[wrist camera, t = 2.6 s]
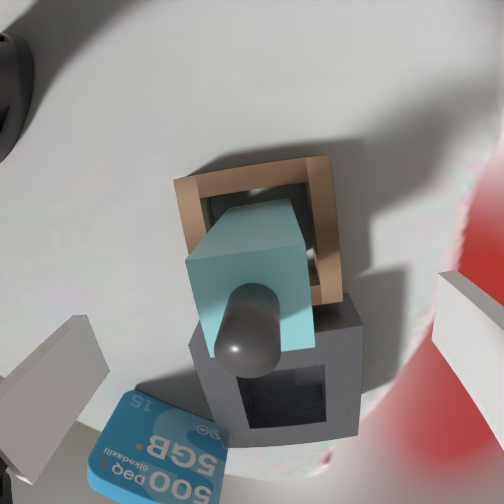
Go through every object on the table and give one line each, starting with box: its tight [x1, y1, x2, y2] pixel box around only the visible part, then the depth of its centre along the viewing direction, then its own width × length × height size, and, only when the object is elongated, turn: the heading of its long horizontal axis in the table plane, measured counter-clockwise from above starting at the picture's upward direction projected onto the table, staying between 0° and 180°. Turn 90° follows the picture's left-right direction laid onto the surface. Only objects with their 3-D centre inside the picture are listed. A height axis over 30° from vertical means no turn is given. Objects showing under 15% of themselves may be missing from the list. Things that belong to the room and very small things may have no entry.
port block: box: [188, 294, 363, 448], centre depth 24 cm, size 12×12×5 cm
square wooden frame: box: [173, 155, 343, 306], centre depth 22 cm, size 10×10×3 cm
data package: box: [87, 391, 228, 504], centre depth 24 cm, size 12×4×12 cm, turn 67°
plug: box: [185, 198, 315, 378], centre depth 16 cm, size 4×4×15 cm
